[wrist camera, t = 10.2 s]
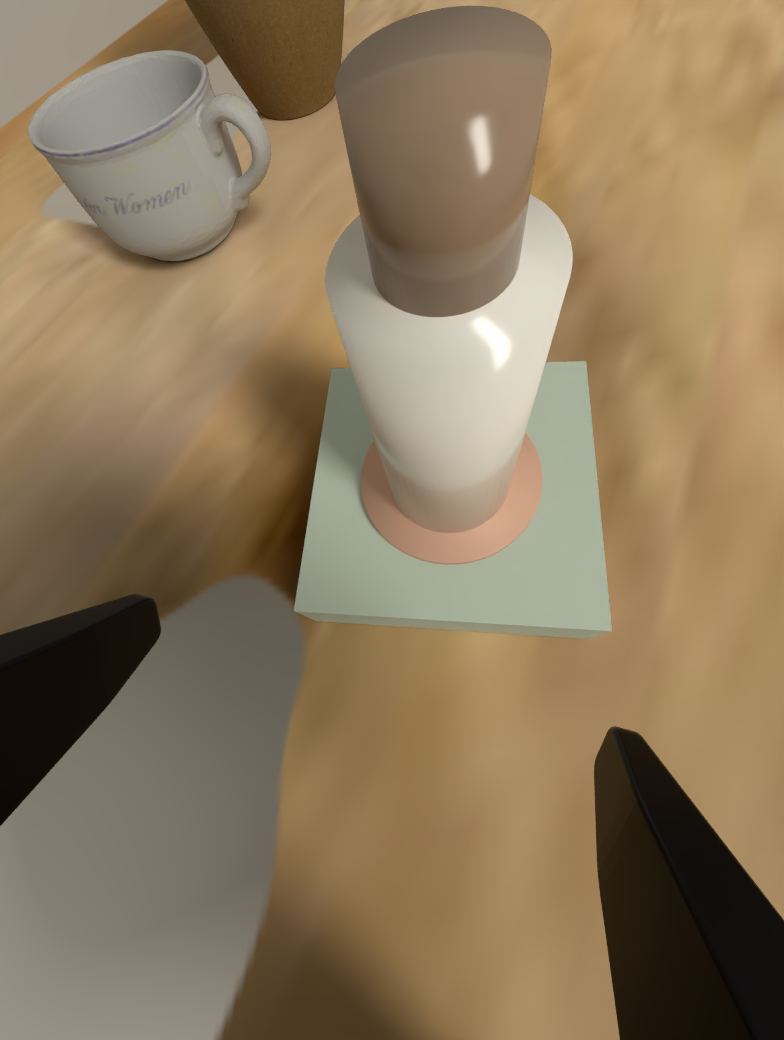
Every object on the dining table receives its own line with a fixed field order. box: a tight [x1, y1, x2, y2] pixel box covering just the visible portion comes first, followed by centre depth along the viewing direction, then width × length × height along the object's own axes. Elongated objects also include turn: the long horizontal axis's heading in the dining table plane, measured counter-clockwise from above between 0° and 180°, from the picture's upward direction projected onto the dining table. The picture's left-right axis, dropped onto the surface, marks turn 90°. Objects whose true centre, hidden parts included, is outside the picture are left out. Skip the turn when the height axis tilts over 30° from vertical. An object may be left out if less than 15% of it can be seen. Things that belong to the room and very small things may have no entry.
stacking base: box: [294, 361, 612, 639], centre depth 20 cm, size 12×12×3 cm
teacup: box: [28, 50, 271, 261], centre depth 27 cm, size 14×11×8 cm
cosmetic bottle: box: [325, 6, 572, 533], centre depth 12 cm, size 5×5×13 cm
